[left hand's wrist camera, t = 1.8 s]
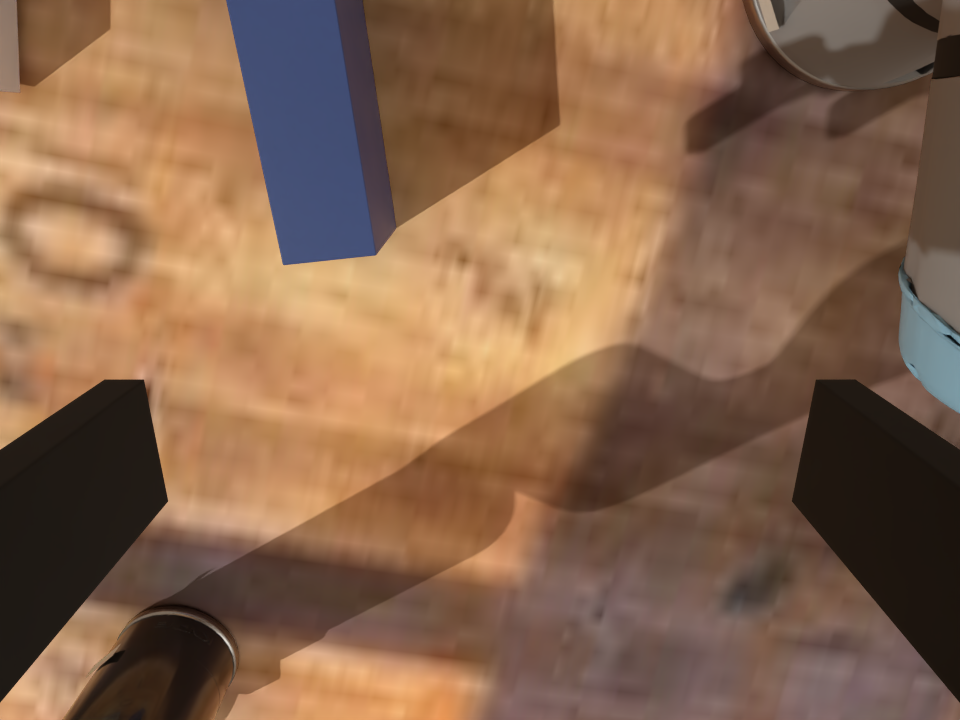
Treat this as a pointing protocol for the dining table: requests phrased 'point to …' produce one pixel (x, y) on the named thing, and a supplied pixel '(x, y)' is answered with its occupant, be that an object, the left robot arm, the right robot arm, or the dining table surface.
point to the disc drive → (9, 47)
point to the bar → (316, 125)
